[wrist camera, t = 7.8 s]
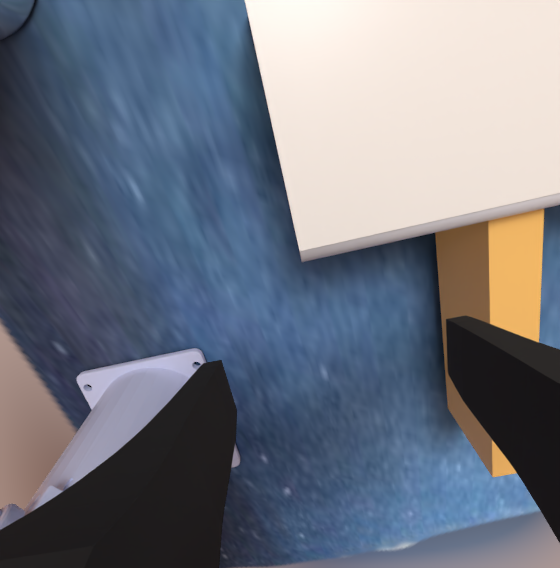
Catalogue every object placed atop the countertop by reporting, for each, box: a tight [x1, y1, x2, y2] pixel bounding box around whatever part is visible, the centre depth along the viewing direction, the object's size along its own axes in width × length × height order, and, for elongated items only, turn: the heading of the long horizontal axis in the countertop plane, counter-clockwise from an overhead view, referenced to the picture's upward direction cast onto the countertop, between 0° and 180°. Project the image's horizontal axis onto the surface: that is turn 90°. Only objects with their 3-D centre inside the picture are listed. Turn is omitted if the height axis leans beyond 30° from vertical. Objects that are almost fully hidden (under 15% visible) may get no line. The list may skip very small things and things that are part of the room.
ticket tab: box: [435, 209, 544, 477], centre depth 18 cm, size 14×2×5 cm, turn 13°
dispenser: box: [245, 0, 560, 262], centre depth 14 cm, size 10×16×7 cm, turn 103°
